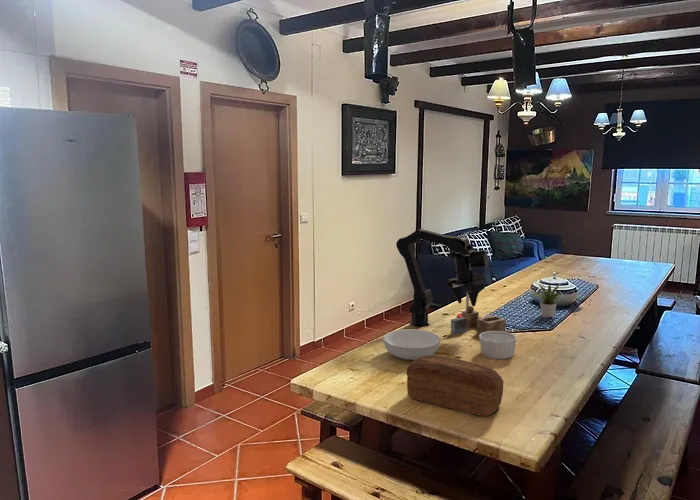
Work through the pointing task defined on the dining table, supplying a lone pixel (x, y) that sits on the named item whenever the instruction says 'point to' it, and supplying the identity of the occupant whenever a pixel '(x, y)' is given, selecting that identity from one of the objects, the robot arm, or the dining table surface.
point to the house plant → (548, 301)
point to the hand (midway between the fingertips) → (466, 304)
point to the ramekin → (497, 344)
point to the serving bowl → (411, 343)
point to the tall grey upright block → (458, 325)
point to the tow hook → (466, 306)
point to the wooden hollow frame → (483, 321)
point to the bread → (455, 384)
